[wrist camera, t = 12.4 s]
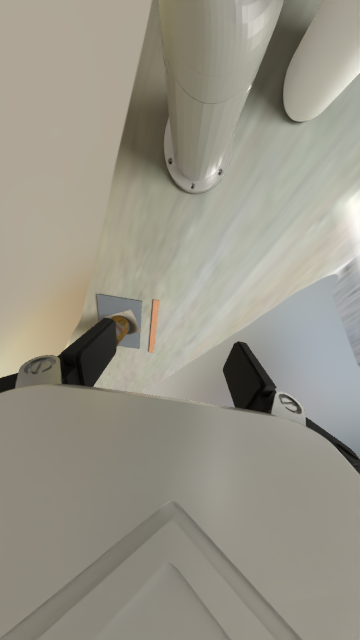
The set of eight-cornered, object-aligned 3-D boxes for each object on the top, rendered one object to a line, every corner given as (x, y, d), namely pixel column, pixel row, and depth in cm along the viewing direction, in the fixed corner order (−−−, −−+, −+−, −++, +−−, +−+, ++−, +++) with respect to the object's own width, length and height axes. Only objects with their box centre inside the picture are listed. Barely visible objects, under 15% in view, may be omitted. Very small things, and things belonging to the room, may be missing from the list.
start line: (153, 299, 37) (153, 299, 37) (159, 300, 38) (158, 300, 37) (149, 351, 45) (148, 352, 45) (153, 352, 45) (153, 352, 45)
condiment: (104, 316, 39) (74, 339, 28) (131, 309, 38) (110, 329, 27) (116, 337, 42) (93, 365, 31) (141, 331, 41) (126, 357, 30)
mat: (97, 293, 37) (96, 294, 37) (141, 300, 38) (141, 301, 37) (102, 342, 44) (101, 343, 43) (139, 347, 44) (138, 348, 44)
